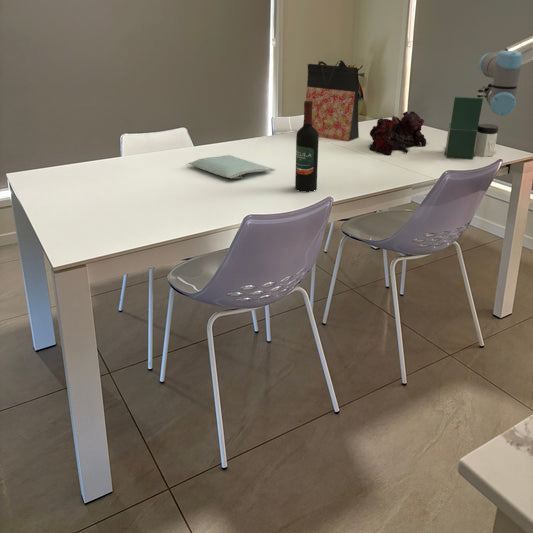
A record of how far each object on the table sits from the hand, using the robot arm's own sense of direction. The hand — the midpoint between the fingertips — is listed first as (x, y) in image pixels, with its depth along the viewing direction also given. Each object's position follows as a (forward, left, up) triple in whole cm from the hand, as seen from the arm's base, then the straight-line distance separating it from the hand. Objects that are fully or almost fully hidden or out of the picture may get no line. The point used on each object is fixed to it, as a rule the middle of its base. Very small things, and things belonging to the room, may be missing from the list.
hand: (492, 87), depth 223 cm
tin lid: (+7, +8, -11) cm, 15 cm away
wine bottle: (-48, +62, -30) cm, 84 cm away
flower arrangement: (+22, +34, -30) cm, 51 cm away
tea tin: (+14, +7, -30) cm, 34 cm away
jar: (+18, -3, -30) cm, 35 cm away
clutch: (-32, +95, -30) cm, 105 cm away
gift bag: (+36, +64, -30) cm, 80 cm away
